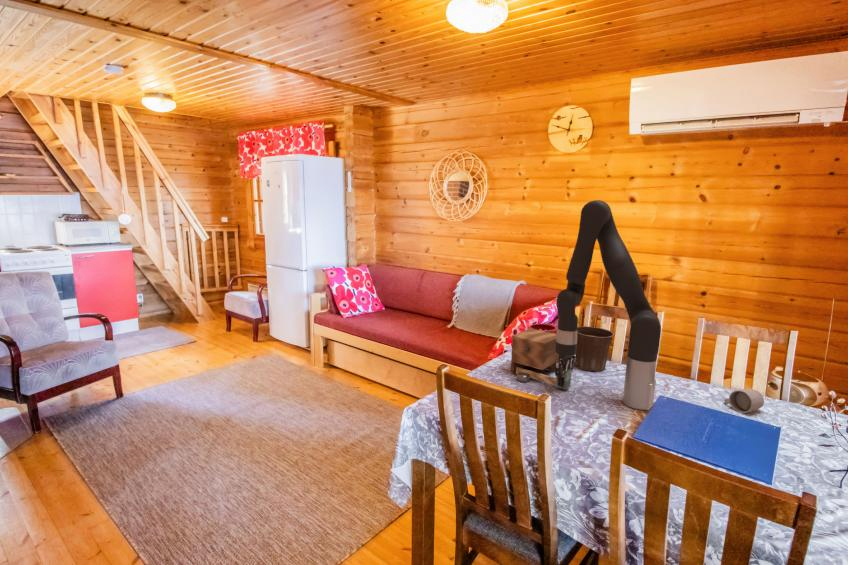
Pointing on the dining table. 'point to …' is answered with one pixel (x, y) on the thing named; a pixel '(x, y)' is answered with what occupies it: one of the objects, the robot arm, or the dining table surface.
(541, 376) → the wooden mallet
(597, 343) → the plant pot
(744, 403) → the ceramic mug
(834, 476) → the dining table surface
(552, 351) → the bread box
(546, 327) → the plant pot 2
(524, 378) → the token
